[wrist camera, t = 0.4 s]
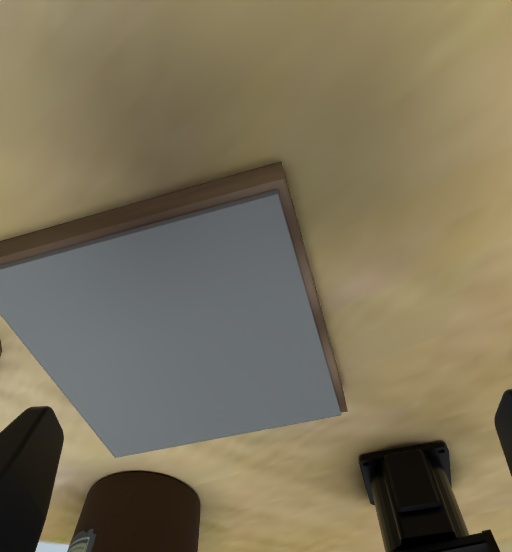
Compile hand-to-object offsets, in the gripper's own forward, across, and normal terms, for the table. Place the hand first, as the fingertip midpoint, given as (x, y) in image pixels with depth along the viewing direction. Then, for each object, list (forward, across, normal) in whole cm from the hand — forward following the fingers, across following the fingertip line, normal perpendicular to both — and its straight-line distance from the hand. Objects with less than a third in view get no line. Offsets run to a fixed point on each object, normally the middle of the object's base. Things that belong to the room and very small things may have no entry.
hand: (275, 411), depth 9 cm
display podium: (+14, +5, +10) cm, 18 cm away
